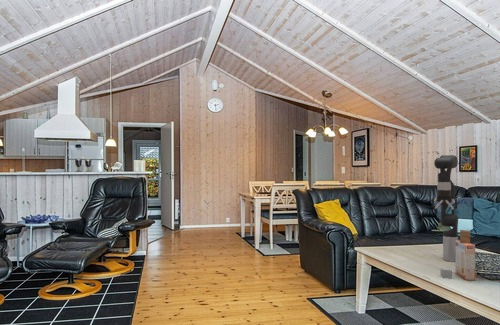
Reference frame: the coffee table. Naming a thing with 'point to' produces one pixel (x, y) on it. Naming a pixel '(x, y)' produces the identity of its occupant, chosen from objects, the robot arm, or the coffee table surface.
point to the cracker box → (465, 260)
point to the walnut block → (464, 236)
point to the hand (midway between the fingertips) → (444, 214)
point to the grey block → (446, 273)
